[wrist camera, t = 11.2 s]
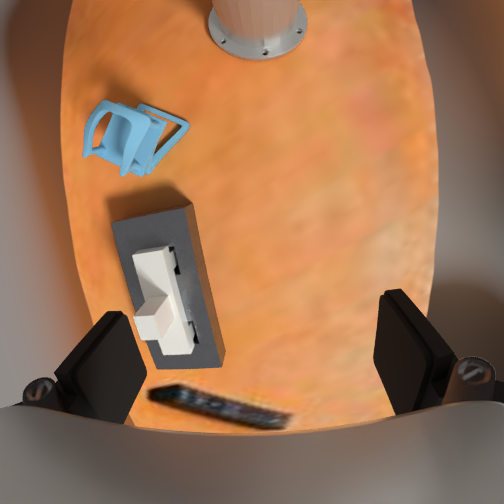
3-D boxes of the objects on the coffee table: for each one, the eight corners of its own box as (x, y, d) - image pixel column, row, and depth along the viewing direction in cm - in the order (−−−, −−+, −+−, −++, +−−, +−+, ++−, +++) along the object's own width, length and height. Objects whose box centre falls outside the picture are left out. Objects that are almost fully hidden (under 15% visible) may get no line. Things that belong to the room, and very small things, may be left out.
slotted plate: (124, 217, 38) (111, 223, 34) (192, 203, 37) (184, 207, 33) (164, 354, 43) (156, 369, 40) (225, 351, 43) (222, 367, 39)
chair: (117, 159, 35) (63, 162, 24) (142, 103, 33) (94, 84, 22) (163, 182, 36) (120, 192, 25) (191, 123, 34) (157, 107, 22)
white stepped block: (149, 242, 38) (112, 269, 28) (176, 238, 37) (145, 264, 27) (174, 334, 42) (151, 378, 32) (199, 332, 41) (181, 378, 31)
